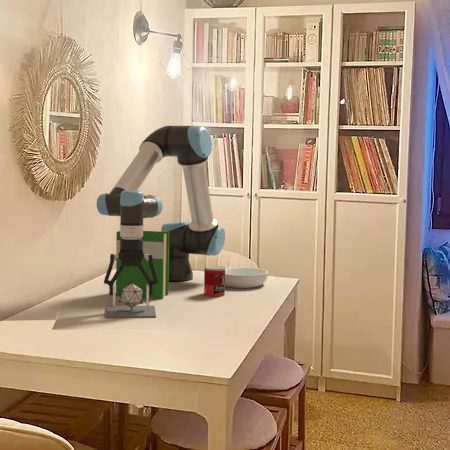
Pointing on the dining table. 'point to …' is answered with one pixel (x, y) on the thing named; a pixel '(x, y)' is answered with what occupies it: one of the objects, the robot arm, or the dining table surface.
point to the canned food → (214, 281)
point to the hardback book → (147, 265)
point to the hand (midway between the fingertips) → (130, 305)
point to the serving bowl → (245, 277)
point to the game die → (131, 295)
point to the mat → (130, 312)
